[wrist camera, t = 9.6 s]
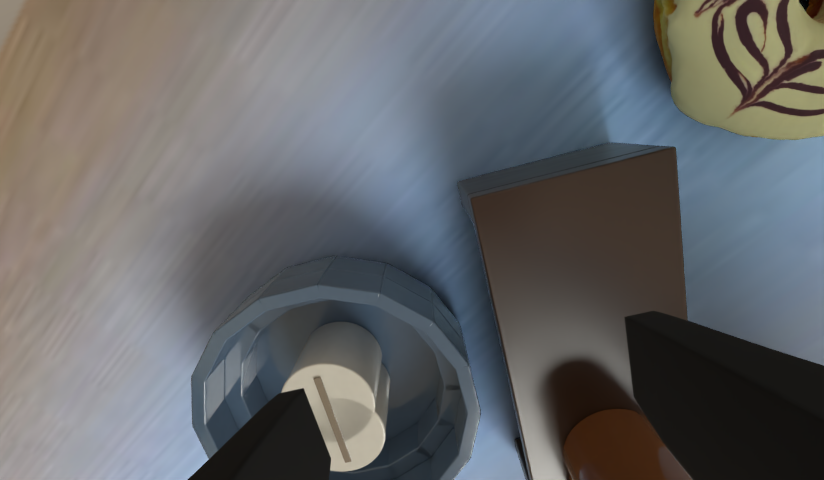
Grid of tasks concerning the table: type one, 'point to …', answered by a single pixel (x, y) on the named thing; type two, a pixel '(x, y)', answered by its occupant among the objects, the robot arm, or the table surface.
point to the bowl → (401, 356)
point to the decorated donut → (746, 64)
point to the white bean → (345, 392)
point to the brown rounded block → (619, 449)
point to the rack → (575, 280)
